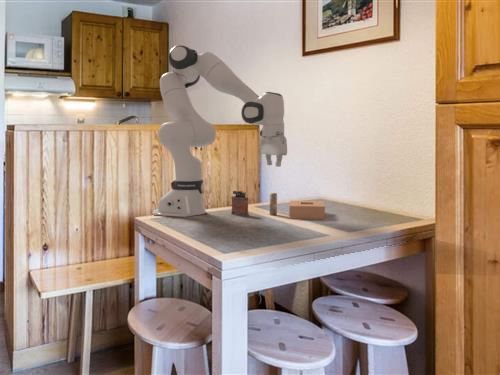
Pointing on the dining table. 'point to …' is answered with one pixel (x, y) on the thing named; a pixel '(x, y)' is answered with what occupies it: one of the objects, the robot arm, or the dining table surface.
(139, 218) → the dining table surface
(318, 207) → the block
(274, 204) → the key peg
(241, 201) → the lighter
